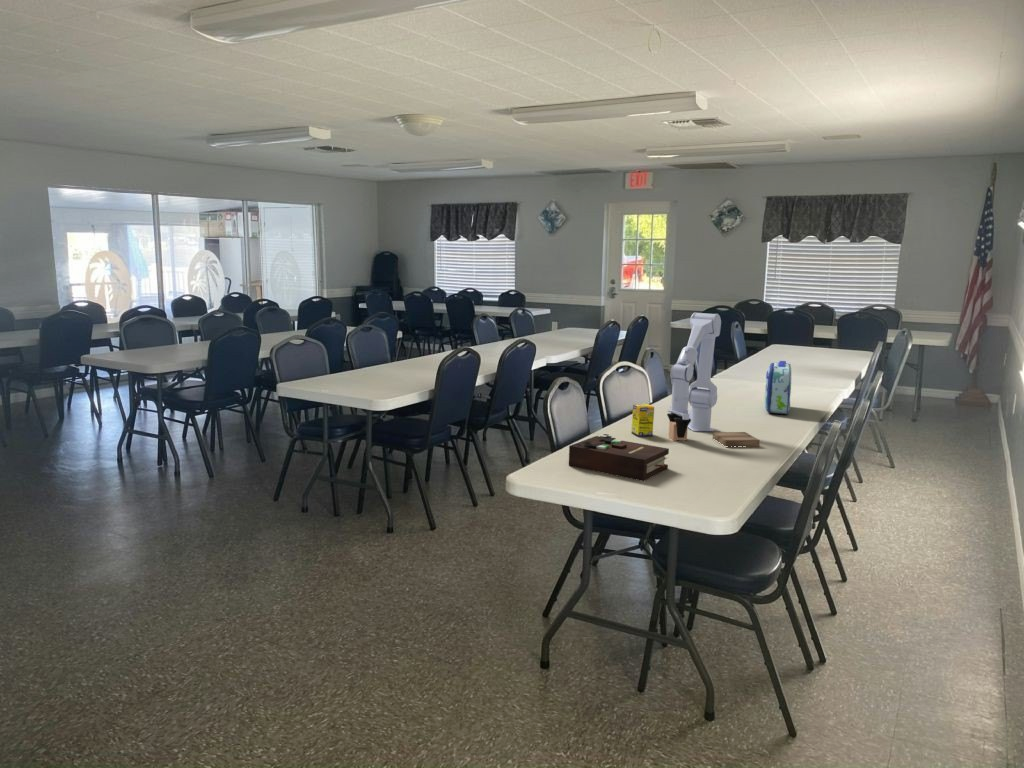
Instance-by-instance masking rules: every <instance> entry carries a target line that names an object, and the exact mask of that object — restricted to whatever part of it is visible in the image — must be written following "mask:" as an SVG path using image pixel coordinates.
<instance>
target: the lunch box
mask: <svg viewBox="0 0 1024 768" xmlns="http://www.w3.org/2000/svg"><path fill="white" fill-rule="evenodd" d="M791 366H792V365H791V363H789V362H788V363H787V361H786V360H779V361H778V362H771V363H769V367H768V369H767V371H766V374H765V375H766V376H765V387H764V408H765V410H766V412H767V413H772V414H780V415H781V414H785V415H788V414H789V412H790V409H791V393H792V367H791Z"/></svg>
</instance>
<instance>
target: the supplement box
mask: <svg viewBox="0 0 1024 768" xmlns="http://www.w3.org/2000/svg"><path fill="white" fill-rule="evenodd" d="M654 417H655V407H654V406H653V405H651V404H649V403H646V404H645V403H641V404H635V403H633V404H632V417H631V434H633V435H634V436H636V437H637V438H638V437H639V438H640V436H641V437H653V435H654V434H653V433H654V431H653V430H654Z"/></svg>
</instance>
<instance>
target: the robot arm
mask: <svg viewBox="0 0 1024 768" xmlns="http://www.w3.org/2000/svg"><path fill="white" fill-rule="evenodd" d="M689 324H690V330H691V332H690V335H689V338H688V341H687V345H686V346H684V347H683V348H682V349H681V352H680V354H679V356H678V358H677V361H676V363H675V364H673V365H672V366H671V368H670V372H669V373H670V374H669V375H670V381H671V383H670V384H671V385H672V386H671V387H672V389H671V391H672V392H671V405H670V406H669V409H667V412H668V413H667V414H666V415H667V419H668V420H669V422H676V427H677V436H678V438H684V436H685V432H686V429H687V427H688V429H689V430H691V431H692V432H714V431H715V430H714V429H713V428H712V427H711V422H712V408H714V407H715V405H716V404H717V401H718V387H717V385H715V384H714V383H713V382H712V381H711V379H712V378H711V377H712V370H713V361H714V351H715V343H716V342H715V341H716V338H717V337H719V336H720V334H721V329H722V326H721V325H722V320H721V316H720V314H719V313H703V312H693V313H692V314H691V316H690V319H689ZM699 346H700V350H699V352H698V350H697V349H698V348H699ZM698 354H699V359H698V368H697V377H696V380H695V381H693V382H692V383H690V382H691V380H692V379H693V377H694V376H693V375H694V365H695V363H696V360H697V357H698ZM689 404H690V407H689ZM688 408H689V409H688ZM688 429H687V430H688Z"/></svg>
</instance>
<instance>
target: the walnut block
mask: <svg viewBox="0 0 1024 768" xmlns="http://www.w3.org/2000/svg"><path fill="white" fill-rule="evenodd" d="M713 439H715V440H717V441H718V442H720V443H721V444H723V445H724V446H728V447H727V448H739V447H738V446H742V447H741V448H744V447H743V446H746V447H745V448H760V439H758V438H756V437H755V436H754V435H751V434H750V433H748V432H746V431H739V432H738V431H735V432H734V431H728V432H727V431H720V432H718V431H716V432H714V431H712V440H713ZM715 440H714V441H715ZM718 442H717V443H718ZM720 443H719V444H720ZM721 444H720V445H721ZM723 445H722V446H723ZM724 446H723V447H724ZM731 446H732V447H731ZM734 446H736V447H734Z"/></svg>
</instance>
